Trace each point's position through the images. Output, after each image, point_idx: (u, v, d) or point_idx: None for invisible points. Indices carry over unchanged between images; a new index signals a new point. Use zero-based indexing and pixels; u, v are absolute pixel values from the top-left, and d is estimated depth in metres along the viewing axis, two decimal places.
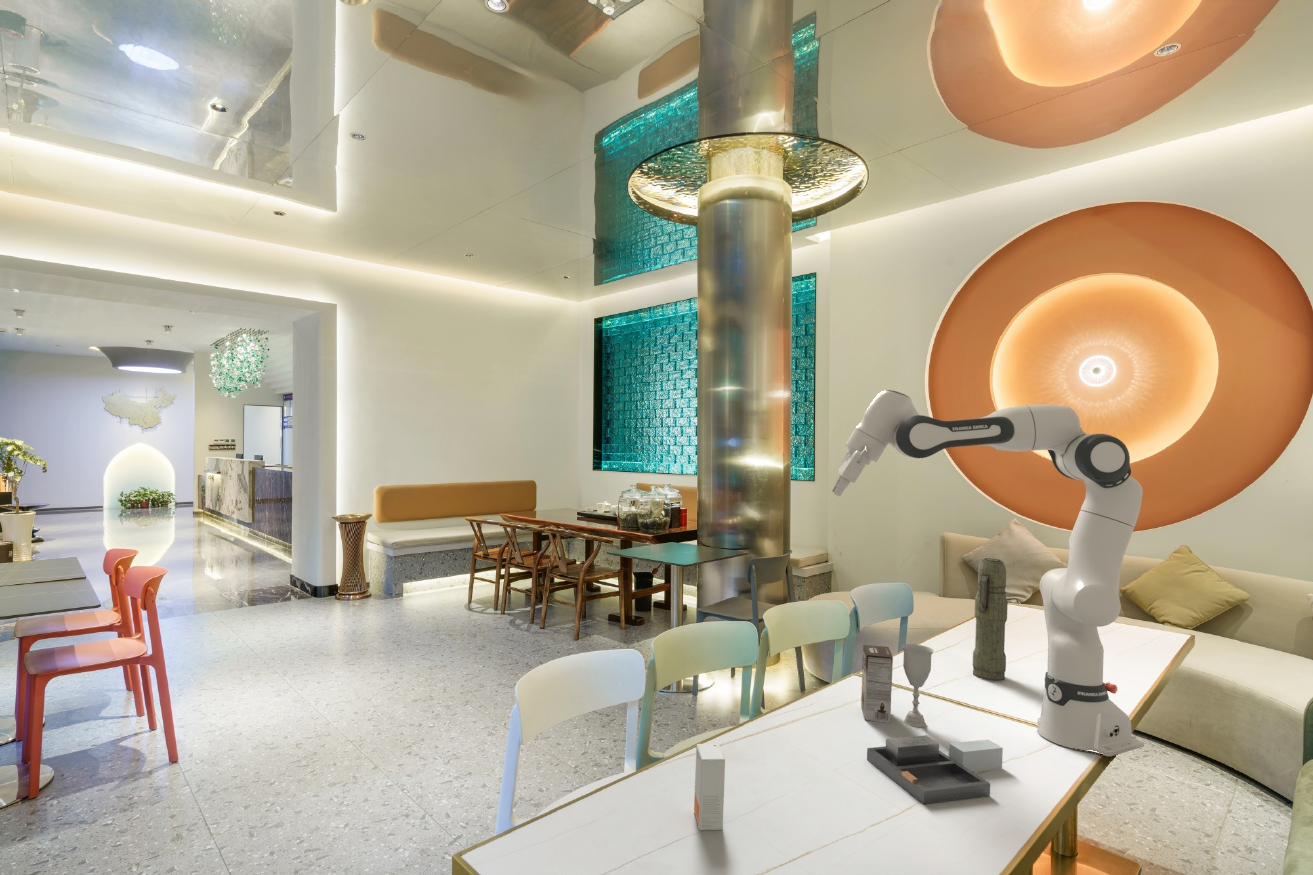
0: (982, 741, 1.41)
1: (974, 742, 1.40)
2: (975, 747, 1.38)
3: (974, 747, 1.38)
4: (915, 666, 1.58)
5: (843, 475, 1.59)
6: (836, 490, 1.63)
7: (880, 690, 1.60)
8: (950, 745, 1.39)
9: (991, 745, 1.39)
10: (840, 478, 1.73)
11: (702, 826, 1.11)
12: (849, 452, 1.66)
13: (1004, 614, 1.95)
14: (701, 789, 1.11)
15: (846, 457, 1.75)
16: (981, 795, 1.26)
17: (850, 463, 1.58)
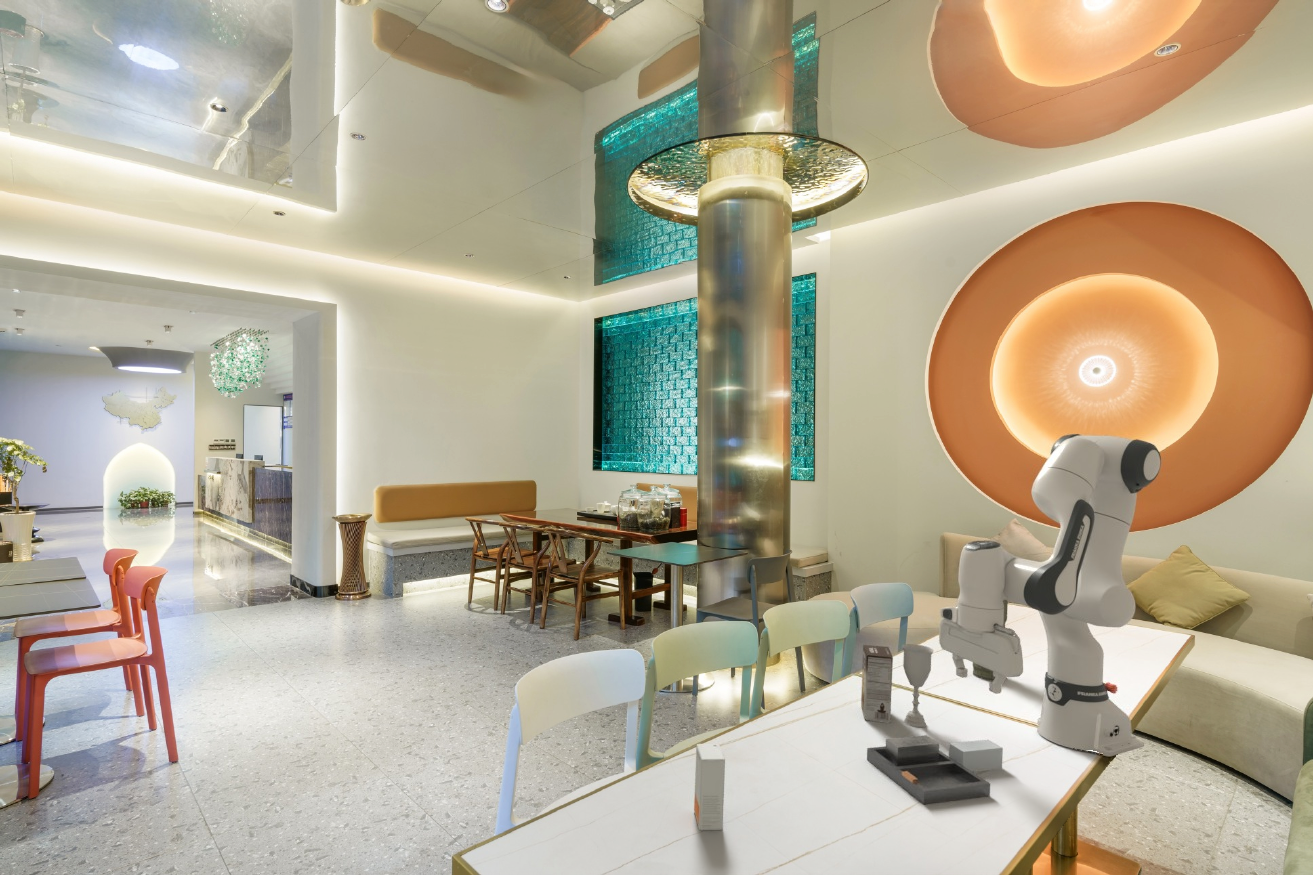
0: (982, 741, 1.41)
1: (974, 742, 1.40)
2: (975, 747, 1.38)
3: (974, 747, 1.38)
4: (915, 666, 1.58)
5: (1009, 675, 1.30)
6: (995, 688, 1.34)
7: (880, 690, 1.60)
8: (950, 745, 1.39)
9: (991, 745, 1.39)
10: (958, 657, 1.44)
11: (702, 826, 1.11)
12: (975, 635, 1.37)
13: (1004, 614, 1.95)
14: (701, 789, 1.11)
15: (945, 628, 1.46)
16: (981, 795, 1.26)
17: (1010, 659, 1.30)
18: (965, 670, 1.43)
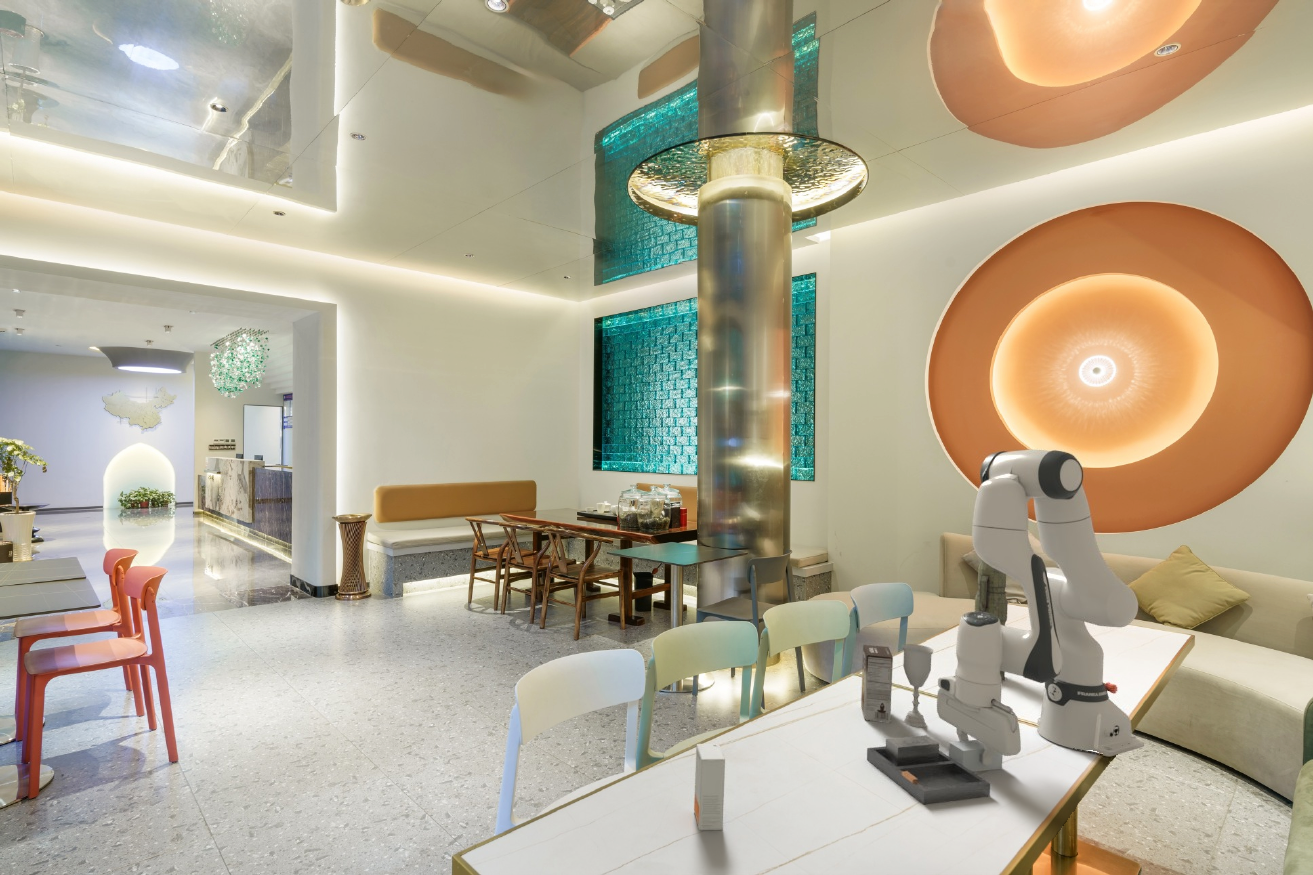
0: None
1: (974, 741, 1.40)
2: (975, 746, 1.38)
3: (974, 746, 1.38)
4: (915, 666, 1.58)
5: (1006, 754, 1.29)
6: (985, 760, 1.35)
7: (880, 690, 1.60)
8: (950, 744, 1.39)
9: None
10: (962, 732, 1.42)
11: (702, 826, 1.11)
12: (973, 709, 1.37)
13: (1004, 614, 1.95)
14: (701, 789, 1.11)
15: (943, 698, 1.46)
16: (981, 795, 1.26)
17: (1007, 738, 1.29)
18: None
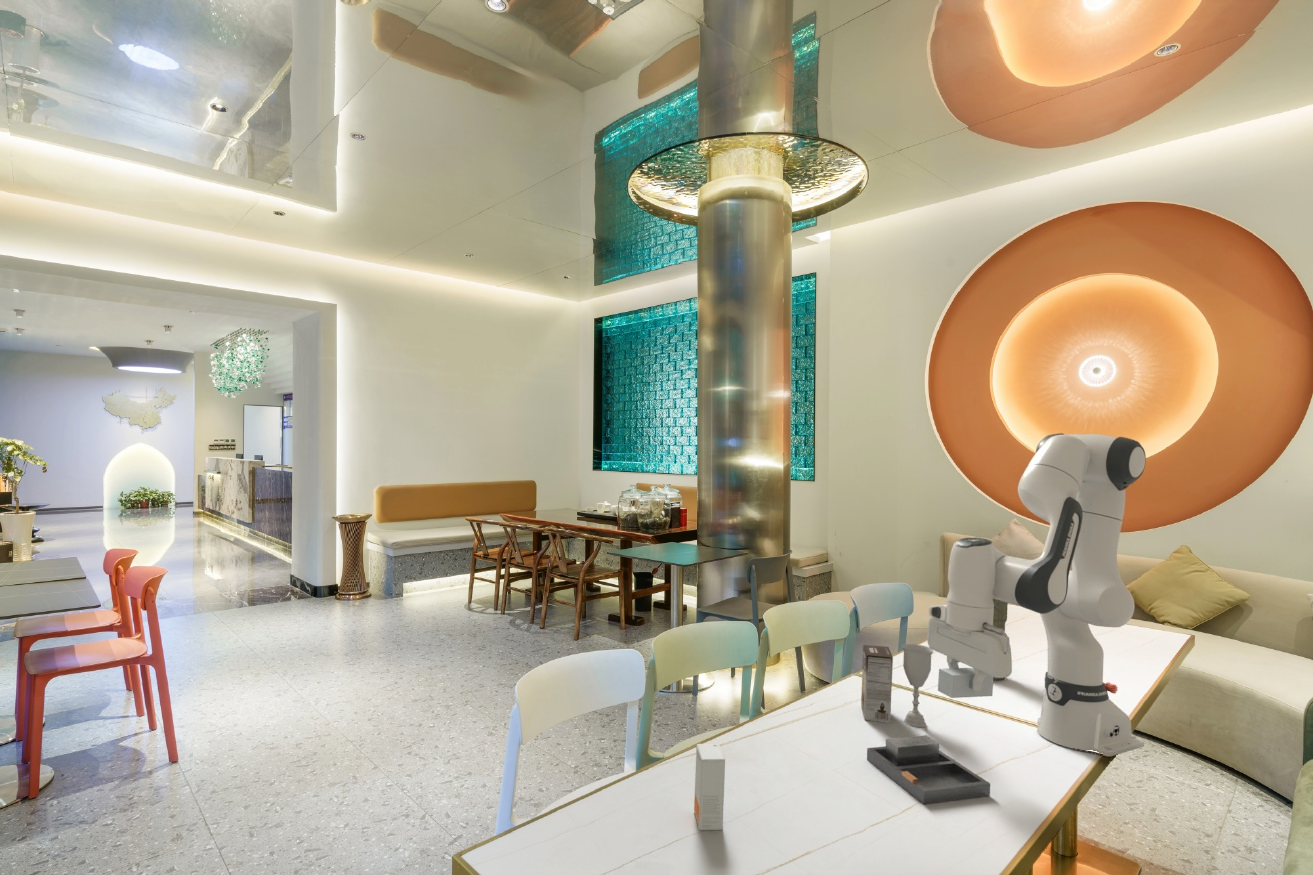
0: (973, 668, 1.38)
1: (964, 669, 1.37)
2: (965, 672, 1.35)
3: (964, 672, 1.34)
4: (915, 666, 1.58)
5: (997, 676, 1.26)
6: (975, 685, 1.32)
7: (880, 690, 1.60)
8: (940, 670, 1.36)
9: None
10: (953, 660, 1.38)
11: (702, 826, 1.11)
12: (964, 634, 1.33)
13: (1004, 614, 1.95)
14: (701, 789, 1.11)
15: (933, 627, 1.43)
16: (981, 795, 1.26)
17: (998, 659, 1.26)
18: None
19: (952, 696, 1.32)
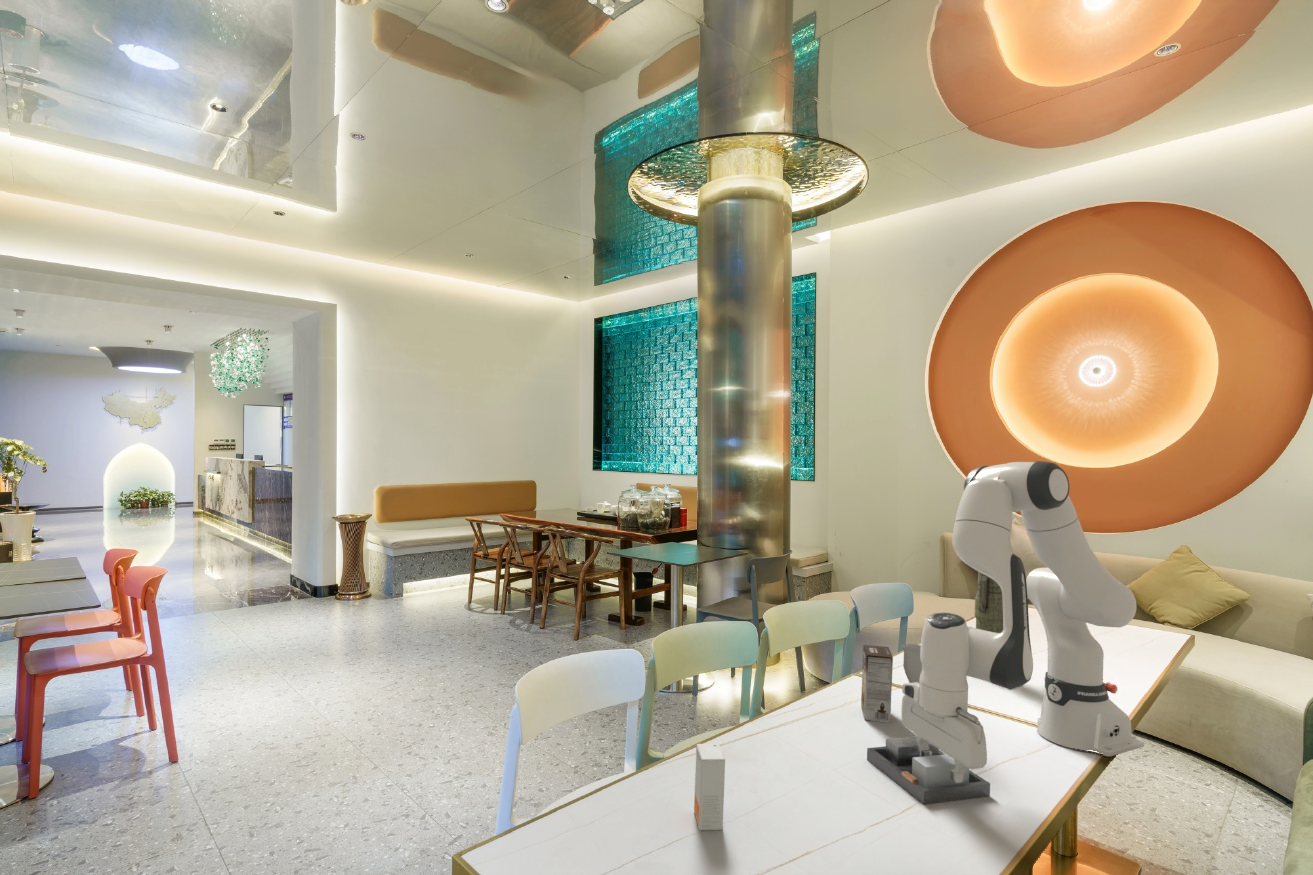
0: (948, 755, 1.31)
1: (939, 756, 1.31)
2: (940, 761, 1.28)
3: (939, 762, 1.28)
4: (915, 666, 1.58)
5: (971, 767, 1.20)
6: (956, 777, 1.24)
7: (880, 690, 1.60)
8: (913, 759, 1.29)
9: None
10: (922, 738, 1.34)
11: (702, 826, 1.11)
12: (937, 718, 1.27)
13: None
14: (701, 789, 1.11)
15: (907, 705, 1.36)
16: (981, 795, 1.26)
17: (972, 749, 1.19)
18: (929, 753, 1.33)
19: None
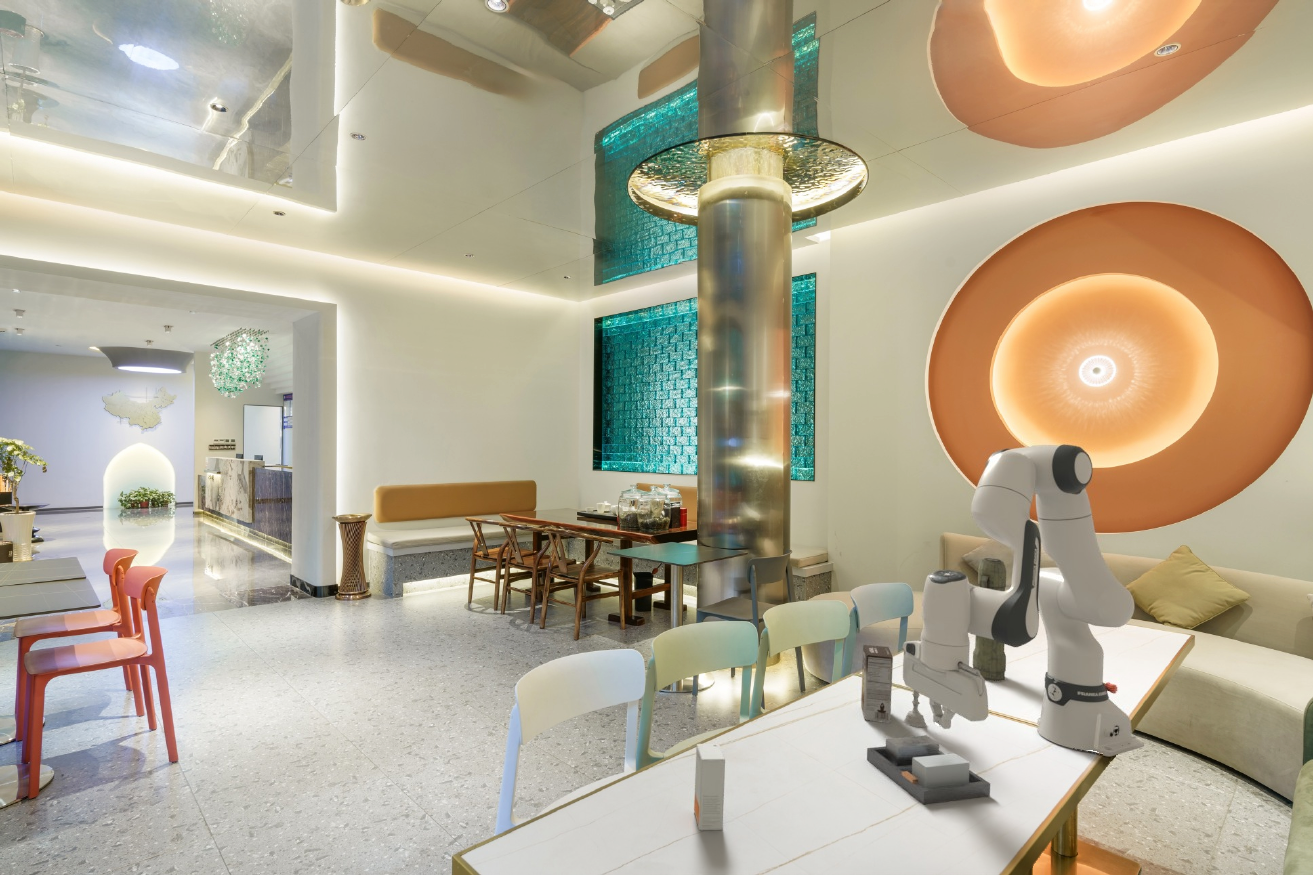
0: (948, 755, 1.31)
1: (939, 756, 1.31)
2: (940, 761, 1.28)
3: (939, 762, 1.28)
4: None
5: (973, 720, 1.20)
6: (944, 723, 1.28)
7: (880, 690, 1.60)
8: (913, 759, 1.29)
9: (958, 759, 1.29)
10: (935, 702, 1.30)
11: (702, 826, 1.11)
12: (939, 673, 1.27)
13: None
14: (701, 789, 1.11)
15: (909, 663, 1.36)
16: (981, 795, 1.26)
17: (974, 702, 1.20)
18: None
19: None
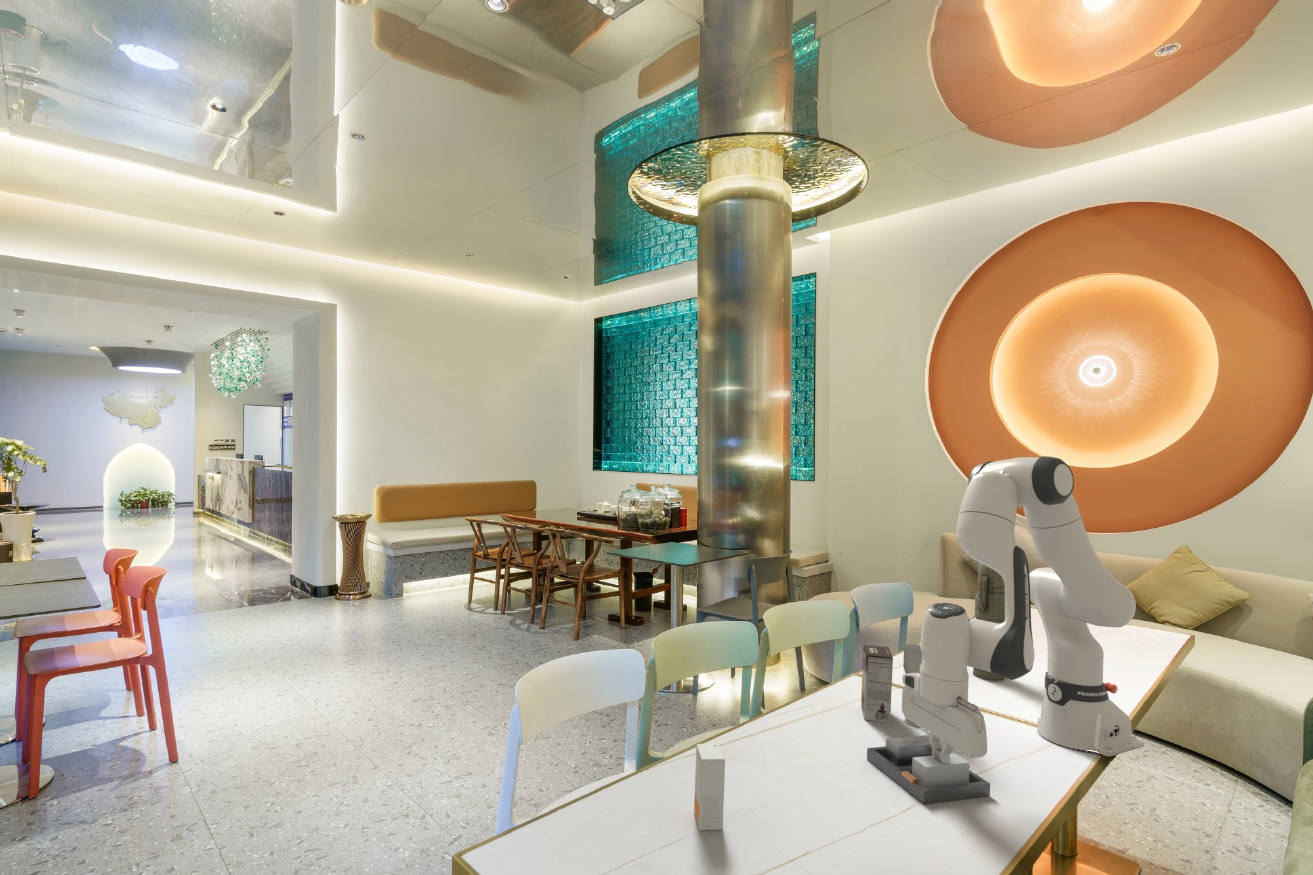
0: None
1: None
2: (940, 761, 1.28)
3: (939, 762, 1.28)
4: (915, 666, 1.58)
5: (972, 756, 1.20)
6: (943, 758, 1.28)
7: (880, 690, 1.60)
8: (913, 759, 1.29)
9: (958, 759, 1.29)
10: (934, 736, 1.30)
11: (702, 826, 1.11)
12: (938, 708, 1.27)
13: (1004, 614, 1.95)
14: (701, 789, 1.11)
15: (908, 695, 1.36)
16: (981, 795, 1.26)
17: (973, 738, 1.19)
18: None
19: None
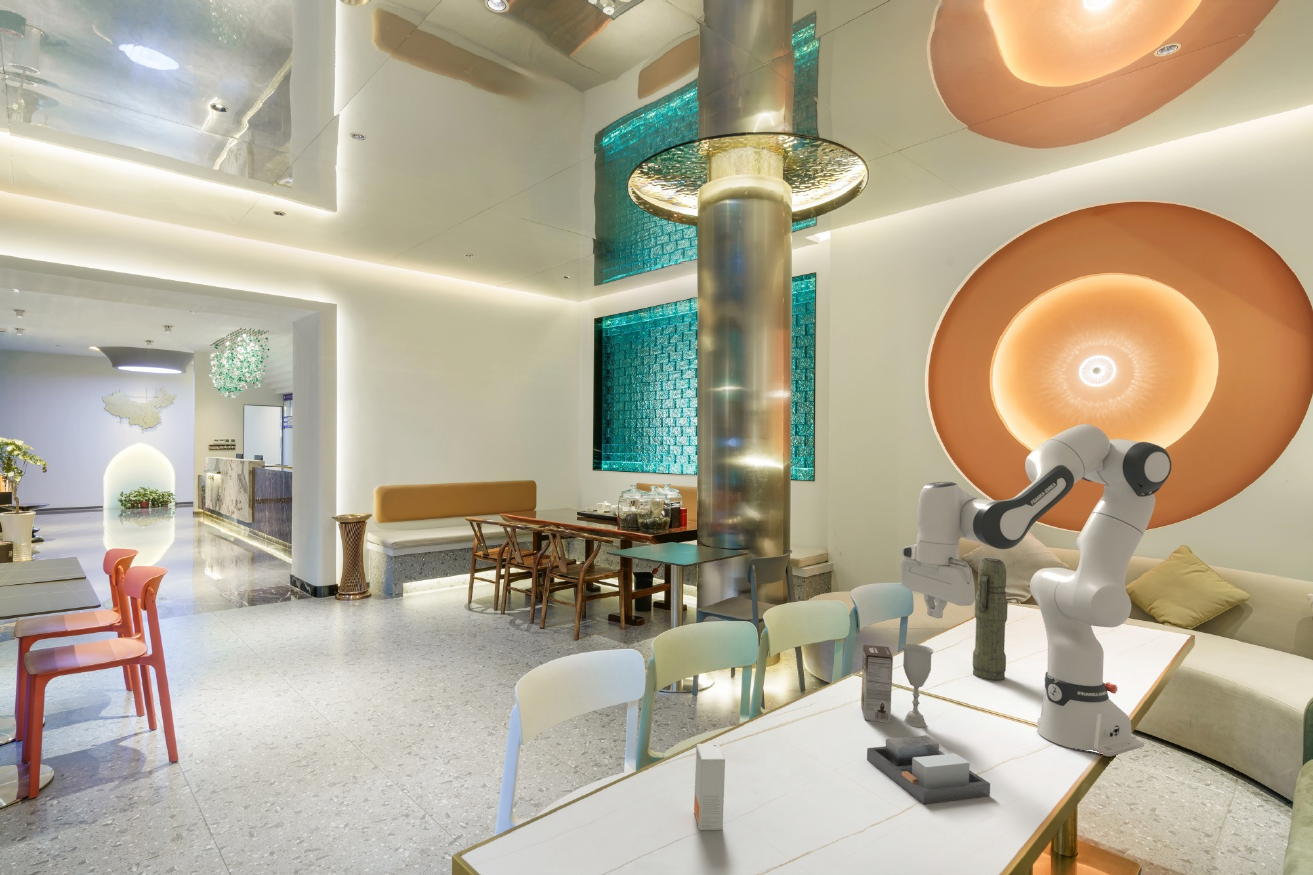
0: (948, 755, 1.31)
1: (939, 756, 1.31)
2: (940, 761, 1.28)
3: (939, 762, 1.28)
4: (915, 666, 1.58)
5: (961, 604, 1.37)
6: (937, 613, 1.45)
7: (880, 690, 1.60)
8: (913, 759, 1.29)
9: (958, 759, 1.29)
10: (929, 597, 1.48)
11: (702, 826, 1.11)
12: (932, 569, 1.45)
13: (1004, 614, 1.95)
14: (701, 789, 1.11)
15: (906, 566, 1.54)
16: (981, 795, 1.26)
17: (962, 588, 1.37)
18: None
19: None
